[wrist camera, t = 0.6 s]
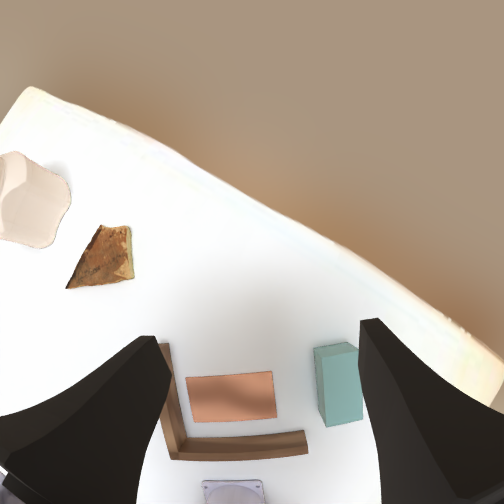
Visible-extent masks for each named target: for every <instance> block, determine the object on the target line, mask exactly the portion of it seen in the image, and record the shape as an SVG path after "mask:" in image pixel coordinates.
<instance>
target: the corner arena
mask: <svg viewBox="0 0 504 504" xmlns="http://www.w3.org/2000/svg"><path fill="white" fill-rule="evenodd" d="M158 345H159V347H160V349H161V351H162V354H163V356H164V358H165V360H166V362H167V364H168V366H169V369H170V371H171V373H172V379H171V383H170V388H169V392H168V395H167V399H166V401H165V404H164V406H163V409H162V412H161V414H160V421H161V425H162V429H163V433H164V437H165V441H166V444H167V448H168V452H169V455H170V458H171V460H186V461H243V460H259V459H271V458H280V457H289V456H296V455H303V454H308V444H307V441H306V437H305V433H304V430H301V431H294V432H286V433H278V434H269V435H258V436H244V437H222V438H187V436H186V432H185V428H184V423H183V419H182V414H181V409H180V405H179V400H178V395H177V390H176V384H175V379H174V373H173V368H172V362H171V356H170V349H169V343H164V344H158ZM185 379H186V384H187V390H188V395H189V400H190V405H191V410H192V415H193V420H194V422H228V421H245V420H257V419H268V418H277V412H276V404H275V396H274V387H273V379H272V371H267V372H258V373H248V374H237V375H224V376H208V377H186V378H185Z"/></svg>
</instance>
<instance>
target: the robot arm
mask: <svg viewBox="0 0 504 504" xmlns="http://www.w3.org/2000/svg"><path fill="white" fill-rule="evenodd" d="M358 370H359V376H360V382H361V388H362V393H363V396H364V400H365V403H366V407H367V411H368V415H369V418H370V422H371V426H372V430H373V434H374V437H375V441H376V447H377V452H378V460H379V470H380V482H381V500H382V504H504V414H502V413H499V412H497V411H495V410H493V409H491V408H489V407H487V406H485V405H484V404H482V403H480V402H478V401H477V400H475V399H473V398H471V397H470V396H468V395H466V394H465V393H463V392H462V391H460V390H459V389H457V388H456V387H454V386H453V385H451V384H450V383H449V382H447V381H446V380H444V379H443V378H442V377H441V376H439V375H438V374H437V373H436V372H434V371H433V370H432V369H431V368H430V367H428V366H427V365H426V364H425V363H424V362H423V361H422V360H420V359H419V358H418V357H417V356H416V355H415V354H414V353H413V352H412V351H411V350H410V349H409V348H408V347H407V346H406V345H405V344H403V343H402V342H401V341H400V340H399V339H398V338H397V336H396V335H395V334H394V333H393V332H392V331H391V330H390V329H389V328H388V327H387V326H386V325H385V324H384V323H383V322H382V321H381V320H380V319H379V318H373V319H367V320H360V336H359V353H358ZM171 379H172V373H171V371H170V369H169V366H168V364H167V362H166V360H165V358H164V356H163V354H162V351H161V349H160V347H159V345H158V343H157V340H156V338H155V336H140V337H138V338H137V339H135V340H134V341H132V342H131V343H130V344H128V345H127V346H126V347H124V348H123V349H122V350H120V351H119V352H118V353H116V354H115V355H114V356H113V357H111V358H110V359H109V360H107V361H106V362H105V363H104V364H102V365H101V366H100V367H98V368H97V369H96V370H94V371H93V372H92V373H90V374H89V375H87V376H86V377H85V378H83V379H82V380H80V381H79V382H78V383H76V384H74V385H73V386H71V387H70V388H68V389H66V390H65V391H63V392H61V393H60V394H58V395H56V396H54V397H52V398H50V399H48V400H46V401H44V402H42V403H39V404H37V405H35V406H33V407H30V408H28V409H25V410H22V411H19V412H16V413H13V414H9V415H5V416H1V417H0V466H1V467H3V468H4V469H5V470H6V471H7V472H8V474H7V475H6V476H5V475H4V474H3V473H1V472H0V504H136V500H137V492H138V486H139V480H140V475H141V470H142V466H143V462H144V458H145V453H146V450H147V447H148V444H149V441H150V439H151V436H152V434H153V431H154V429H155V426H156V424H157V421H158V419H159V417H160V414H161V412H162V409H163V406H164V404H165V401H166V399H167V395H168V392H169V388H170V383H171ZM257 485H259V486H257ZM205 486H207V487H205ZM202 488H203V491H204V494H205V498H206V501H207V504H265V500H264V494H263V488H262V482H261V481H259V480H254V481H203V482H202Z"/></svg>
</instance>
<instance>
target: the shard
mask: <svg viewBox="0 0 504 504" xmlns="http://www.w3.org/2000/svg"><path fill="white" fill-rule="evenodd" d="M132 278H134V271H133V263H132V255H131V232H130V230H129V228H128V226H120V227H114V228H109V227H104V226H102V225H100V227H99V228H98V229H97V231H96V233H95V234H94V236H93V237H92V240H91V242H90V243H89V244H88V246H87V247H86V249H85V251H84V252H83V254H82V256H81V258H80V260H79V262H78V264H77V266H76V268H75V270H74V273H73V275H72V277H71V278H70V280H69V282H68V284H67V286H66V288H65V289H71V288H76V287H80V286H87V285H88V286H93V285H103V284H107V283H116V282H120V281H121V280H128V279H132Z"/></svg>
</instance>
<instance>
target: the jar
mask: <svg viewBox="0 0 504 504" xmlns="http://www.w3.org/2000/svg"><path fill="white" fill-rule="evenodd" d="M70 204H71V195H70V190H69V187H68V184H67V183H66V181H65V180H64V179H63V178H62V177H60V176H58V175H57V174H54V173H52V172H50V171H49V170H47V169H45V168H43V167H42V166H40V165H38V164H37V163H35V162H33V161H32V160H30V159H28V158H27V157H26V156H25V155H23V154H22V153H20V152H17V151H13V152H9V153H6V154H3V155H0V239H3V240H7V241H11V242H15V243H19V244H23V245H28V246H30V247H33V248H45V247H47V246H49V245H51V244H52V243H53V241H54V239H55V235H56V231H57V228H58V225H59V223H60V221H61V219H62V217H63V215H64V214H65V212H66V211H67V210H68V208H69V206H70Z"/></svg>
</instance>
